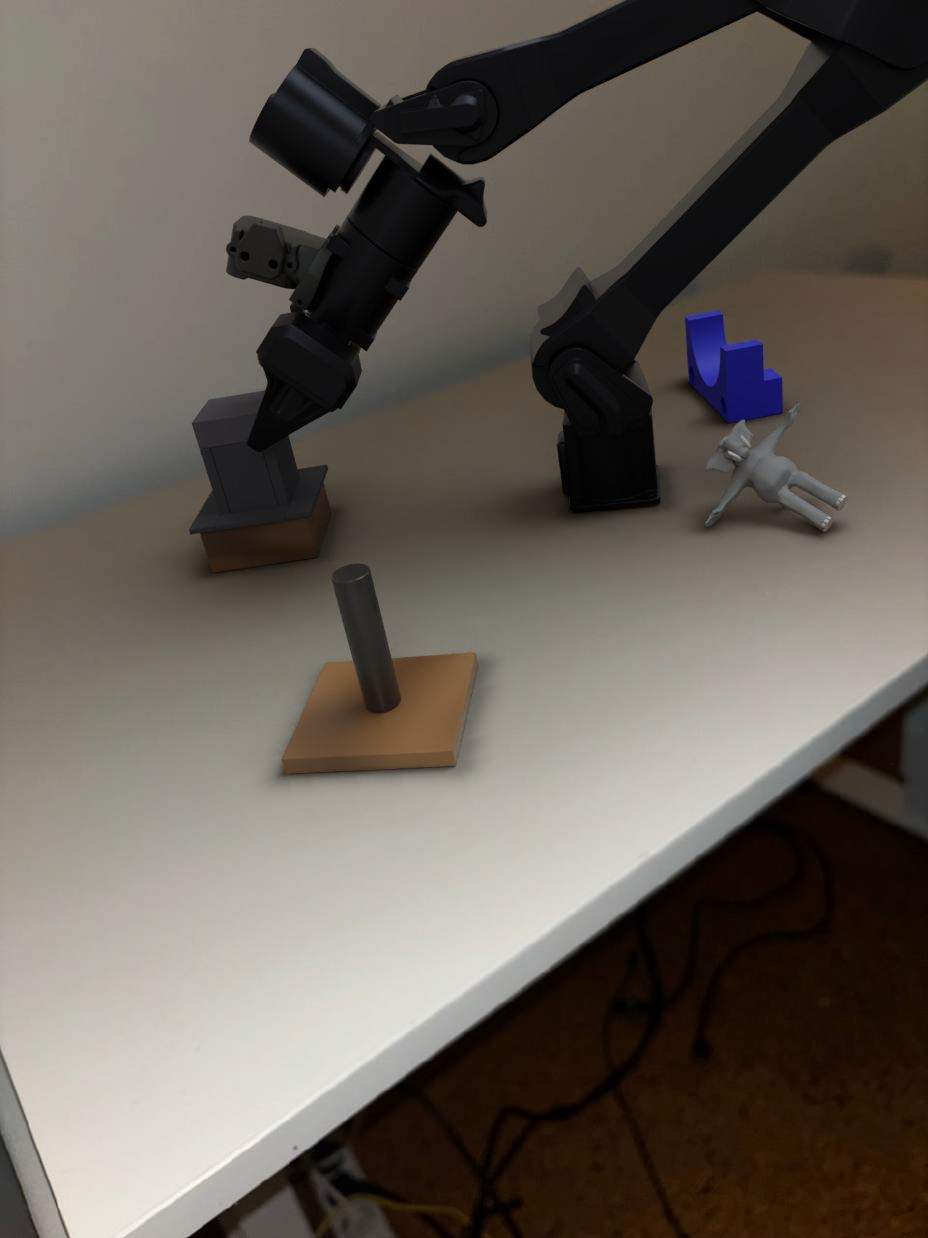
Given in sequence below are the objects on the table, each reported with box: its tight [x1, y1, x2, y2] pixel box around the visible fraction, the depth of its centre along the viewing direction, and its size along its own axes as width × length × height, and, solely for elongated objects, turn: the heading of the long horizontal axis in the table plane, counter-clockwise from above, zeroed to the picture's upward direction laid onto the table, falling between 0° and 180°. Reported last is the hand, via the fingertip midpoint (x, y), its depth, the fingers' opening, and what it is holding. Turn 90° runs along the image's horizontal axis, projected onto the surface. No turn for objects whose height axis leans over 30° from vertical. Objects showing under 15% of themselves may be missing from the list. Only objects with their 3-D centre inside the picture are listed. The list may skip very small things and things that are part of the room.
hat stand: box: [281, 563, 479, 775], centre depth 54 cm, size 9×9×9 cm
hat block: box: [199, 481, 332, 574], centre depth 78 cm, size 8×8×4 cm
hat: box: [188, 389, 329, 535], centre depth 75 cm, size 9×9×8 cm
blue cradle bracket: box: [684, 310, 784, 424], centre depth 88 cm, size 12×4×6 cm, turn 5°
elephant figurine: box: [704, 402, 849, 533], centre depth 67 cm, size 10×6×9 cm
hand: (265, 425), depth 74 cm, fingers open, 9 cm apart
